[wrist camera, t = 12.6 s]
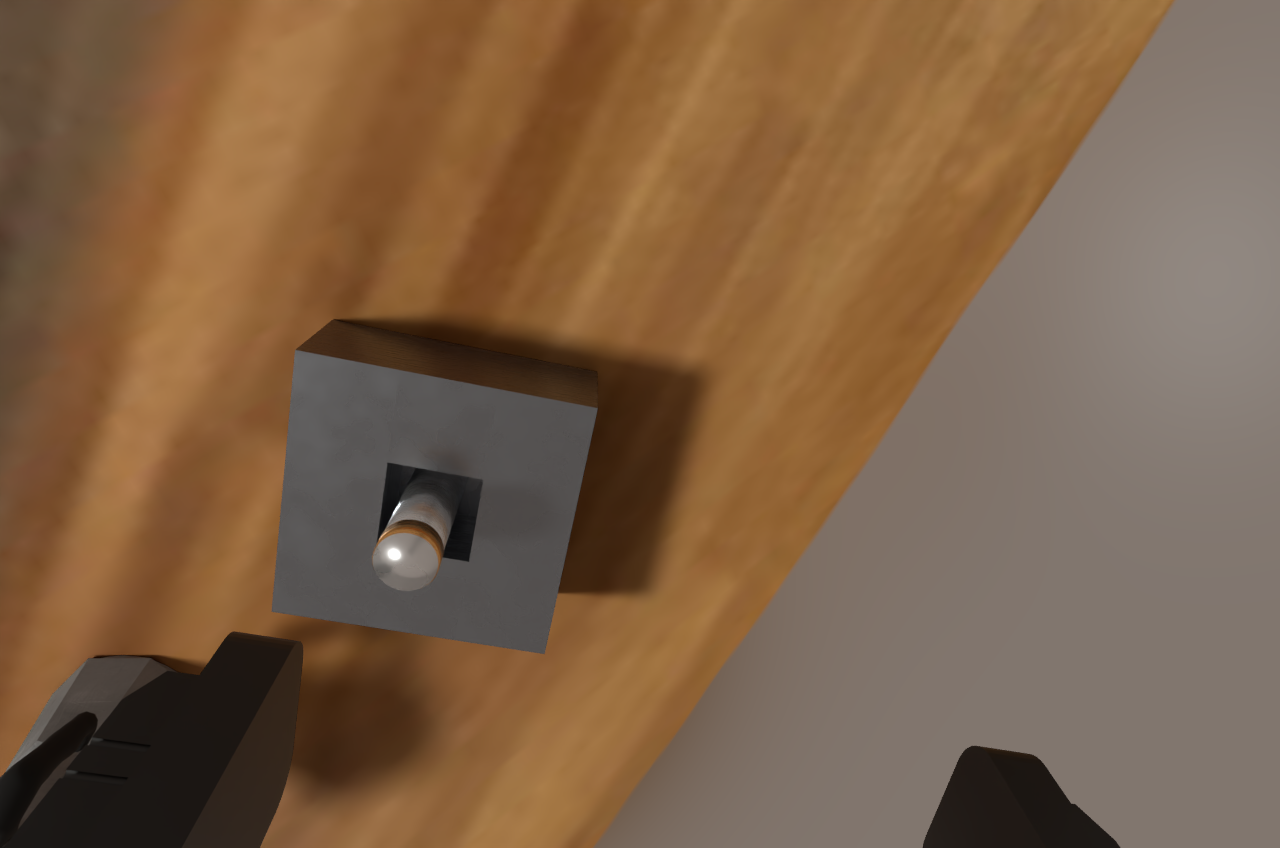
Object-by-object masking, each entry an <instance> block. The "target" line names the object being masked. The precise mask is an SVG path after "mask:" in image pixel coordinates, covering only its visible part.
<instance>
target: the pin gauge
mask: <svg viewBox="0 0 1280 848" xmlns="http://www.w3.org/2000/svg"><path fill="white" fill-rule="evenodd" d="M467 481H468V477H466V476H460V475H455V474H449V473H444V472H438V471H432V470H427V469H421V468H415V470H414V472H413V474H412V476H411V478H410V480H409V482H408V484H407V487H406V489H405V491H404V493H403V495H402V497H401V499H400V501H399V503H398V505H397V507H396V509H395V511H394V513H393V515H392V517H391V519H390V521H389V523H388V525H387V527H386V529H385V530H384V531H383V533H382V535H381V536H380V538H379V540H378V542H377V544H376V547H375V549H374V551H373V555H372V564H373V568H374V571H375V573H376V574H377V576H378V577H379V578H380V580H381V581H382V582H384V583H385V584H386V585H388V586H390V587H392V588H394V589H397V590H402V591H412V590H417V589H420V588H423V587H425V586H427V585H428V584H429V583H431V582H432V581H433V579H434V578H435V577H436V575H437V573H438V570H439V567H440V564H441V561H442V558H443V555H444V549H445V546H446V543H447V540H448V537H449V534H450V531H451V528H452V525H453V522H454V519H455V516H456V513H457V510H458V507H459V505H460V502H461V499H462V496H463V493H464V490H465V487H466V484H467Z"/></svg>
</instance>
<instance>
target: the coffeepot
mask: <svg viewBox="0 0 1280 848" xmlns="http://www.w3.org/2000/svg"><path fill="white" fill-rule="evenodd" d="M166 671H173V672H176V671H175V670H173V669H171V668H170V667H168V666H166V665H164V664H161V663H159V662H156V661H154V660H153V659H151V658H146V657H138V656H126V655H119V656H108V657H104V658H88V659H87V660H86V661H85V662H84V663H83V664H82V665H81V666H80V667H79V668H78V669H77V670H76V671H75V672H74V673H73V674H72V675H71V676H70V677H69V678H68V679H67V680H66V681H65V682H64V683H63V684H62V685H61V686H60V687H59V688H58V689H57V690H56V691H55V692H54V693H53V694H52V696H51V697H50V699H49V701H48V702H47V704H46V706H45V707H44V709H43V711H42V712H41V714H40V716H39V717H38V719H37V721H36V722H35V724H34V726H33V727H32V729H31V730H30V732H29V734H28V735H27V737H26V739H25V740H24V742H23V744H22V745H21V747H20V749H19V750H18V752H17V754H16V755H15V757H14V759H13V760H12V762H11V764H10V765H9V767H8V768H7V770H6V772H5V773H4V774H3V775H2V776H1V777H0V848H4V846H5V845H6V844H7V843H8V841H9V840H10V839H11V838H12V836H13V835H14V834H15V833H16V831H17V830H18V829H19V828H20V826H21V825H22V824H23V823H24V821H25V820H26V819H27V818H28V816H29V815H30V814H31V813H32V811H33V810H34V809H35V808H36V806H37V805H38V804H39V803H40V801H41V800H42V799H43V798H44V796H45V795H46V794H47V793H48V791H49V790H50V789H51V788H52V786H53V785H54V784H55V783H56V781H57V780H58V779H59V778H63V777H64V775H65V772H66V769H67V768H68V766H69V765H70V764H71V763H72V761H73V760H74V759H75V758H76V756H77V755H78V754H79V753H80V751H81V750H82V749H83V748H84V746H85V745H89V744H90V742H91V739H92V736H93V735H94V734H95V732H96V731H97V730H98V729H99V727H100V726H101V725H102V724H103V722H104V721H105V720H106V719H107V717H108V716H109V715H110V714H111V712H112V711H113V710H114V709H115V707H116V706H117V705H118V704H119V702H120V701H121V700H122V699H123V698H125V697H127V696H128V695H130V694H131V693H133V692H134V691H136V690H138V689H139V688H141V687H142V686H144V685H146V684H147V683H149V682H150V681H152V680H154V679H155V678H157V677H158V676H160V675H162V674H163V673H165V672H166Z"/></svg>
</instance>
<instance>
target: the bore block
mask: <svg viewBox="0 0 1280 848" xmlns="http://www.w3.org/2000/svg"><path fill="white" fill-rule="evenodd" d="M597 410H598V389H597V372H596V371H590V370H585V369H580V368H575V367H570V366H565V365H560V364H555V363H550V362H545V361H540V360H535V359H530V358H525V357H520V356H515V355H510V354H505V353H500V352H494V351H489V350H484V349H479V348H474V347H469V346H464V345H459V344H454V343H449V342H444V341H439V340H434V339H429V338H424V337H419V336H414V335H409V334H404V333H398V332H393V331H388V330H383V329H378V328H373V327H368V326H363V325H358V324H353V323H348V322H343V321H338V320H332V321H331V322H329V323H328V324H327V325H326V326H324V327H323V328H322V329H321V330H319V331H318V332H317V333H316V334H314V335H313V336H312V337H311V338H309V339H308V340H307V341H306V342H305V343H303V344H302V345H301V346H300V347H298V348H297V349H296V350H295V359H294V370H293V381H292V392H291V403H290V414H289V425H288V436H287V448H286V459H285V470H284V481H283V492H282V503H281V514H280V525H279V536H278V547H277V558H276V569H275V581H274V592H273V603H272V612H277V613H284V614H290V615H297V616H303V617H310V618H316V619H322V620H329V621H335V622H342V623H348V624H355V625H361V626H368V627H374V628H380V629H387V630H393V631H400V632H406V633H413V634H419V635H426V636H432V637H438V638H445V639H451V640H458V641H464V642H471V643H477V644H484V645H490V646H496V647H503V648H509V649H516V650H522V651H529V652H535V653H542V654H545V649H546V645H547V640H548V635H549V631H550V626H551V622H552V617H553V612H554V608H555V603H556V599H557V594H558V589H559V585H560V580H561V576H562V571H563V566H564V562H565V557H566V553H567V548H568V543H569V539H570V534H571V530H572V525H573V520H574V516H575V511H576V507H577V502H578V497H579V493H580V488H581V484H582V479H583V474H584V470H585V465H586V461H587V456H588V451H589V447H590V442H591V438H592V433H593V428H594V424H595V419H596V415H597ZM415 468H421V469H427V470H432V471H438V472H444V473H449V474H455V475H460V476H466V477H468V481H467V484H466V487H465V490H464V493H463V496H462V499H461V502H460V505H459V507H458V510H457V513H456V516H455V519H454V522H453V525H452V528H451V531H450V534H449V537H448V540H447V543H446V546H445V549H444V555H443V558H442V561H441V564H440V567H439V570H438V573H437V575H436V577H435V578H434V579H433V581H432V582H431V583H429V584H428V585H427V586H425V587H423V588H420V589H417V590H412V591H402V590H397V589H394V588H392V587H390V586H388V585H386V584H385V583H384V582H382V581H381V580H380V578H379V577H378V576H377V574H376V573H375V571H374V568H373V564H372V555H373V551H374V549H375V547H376V544H377V542H378V540H379V538H380V536H381V535H382V533H383V531H384V530H385V529H386V527H387V525H388V523H389V521H390V519H391V517H392V515H393V513H394V511H395V509H396V507H397V505H398V503H399V501H400V499H401V497H402V495H403V493H404V491H405V489H406V487H407V484H408V482H409V480H410V478H411V476H412V474H413V472H414V470H415Z"/></svg>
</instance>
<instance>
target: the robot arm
mask: <svg viewBox="0 0 1280 848" xmlns="http://www.w3.org/2000/svg"><path fill="white" fill-rule="evenodd" d="M302 663H303V645H302V643H301V642H300V641H293V640H287V639H280V638H274V637H267V636H260V635H254V634H247V633H241V632H231V633H230V634H229V635H228V636H227V637H226V638H225V639H224V641H223V642H222V644H221V645H220V647H219V648H218V649H217V651H216V652H215V654H214V655H213V657H212V658H211V660H210V661H209V662H208V664H207V665H206V667H205V668H204V670H203V671H202V672H201V674H200V675H193V674H186V673H179V672H173V671H166V672H165V673H163V674H162V675H160V676H158V677H157V678H155V679H154V680H152V681H150V682H149V683H147V684H146V685H144V686H142V687H141V688H139V689H138V690H136V691H134V692H133V693H131V694H130V695H128V696H127V697H125V698H123V699H122V700H121V701H120V702H119V704H118V705H117V706H116V707H115V709H114V710H113V711H112V712H111V714H110V715H109V716H108V717H107V719H106V720H105V721H104V722H103V724H102V725H101V726H100V727H99V729H98V730H97V731H96V732H95V734H94V735H93V736H92V739H91V742H90V744H89V745H85V746H84V748H83V749H82V750H81V751H80V753H79V754H78V755H77V756H76V758H75V759H74V760H73V761H72V763H71V764H70V765H69V766H68V768H67V769H66V772H65V775H64V777H63V778H59V779H58V780H57V781H56V783H55V784H54V785H53V786H52V788H51V789H50V790H49V791H48V793H47V794H46V795H45V796H44V798H43V799H42V800H41V801H40V803H39V804H38V805H37V806H36V808H35V809H34V810H33V811H32V813H31V814H30V815H29V816H28V818H27V819H26V820H25V821H24V823H23V824H22V825H21V826H20V828H19V829H18V830H17V831H16V833H15V834H14V835H13V836H12V838H11V839H10V840H9V841H8V843H7V844H6V845H5V846H4V848H260V846H261V844H262V841H263V839H264V837H265V835H266V833H267V830H268V828H269V826H270V824H271V822H272V819H273V817H274V815H275V813H276V810H277V808H278V805H279V803H280V800H281V797H282V794H283V791H284V788H285V785H286V781H287V777H288V774H289V769H290V765H291V760H292V754H293V747H294V738H295V729H296V719H297V710H298V701H299V691H300V682H301V672H302ZM923 848H1120V847H1119V845H1118V844H1117V842H1116V841H1115V840H1114V839H1113V838H1112V837H1111V836H1109V834H1107V833H1106V832H1105V831H1104V830H1103V829H1102V828H1101V827H1100V826H1099V825H1097V824H1096V823H1095V822H1094V821H1093V820H1092V819H1091V818H1090V817H1089V816H1088V815H1087V814H1085V813H1084V812H1083V811H1082V810H1081V809H1080V808H1079V807H1078V806H1077V805H1075V804H1071V803H1070V801H1069V800H1068V799H1067V797H1066V795H1065V794H1064V793H1063V791H1062V790H1061V788H1060V787H1059V786H1058V784H1057V782H1056V781H1055V780H1054V778H1053V777H1052V775H1051V774H1050V772H1049V771H1048V769H1047V768H1046V767H1045V765H1044V764H1043V763H1042V761H1041V760H1040V759H1038V758H1037V757H1036V756H1034V755H1031V754H1026V753H1020V752H1013V751H1006V750H1000V749H993V748H987V747H980V746H971V747H969V748H967V749H966V750H965V751H964V752H963V753H962V755H961V756H960V758H959V760H958V762H957V765H956V767H955V769H954V772H953V774H952V776H951V779H950V781H949V783H948V786H947V788H946V790H945V793H944V795H943V797H942V800H941V802H940V805H939V807H938V809H937V811H936V814H935V816H934V818H933V821H932V823H931V825H930V828H929V830H928V832H927V835H926V837H925V840H924V844H923Z"/></svg>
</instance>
